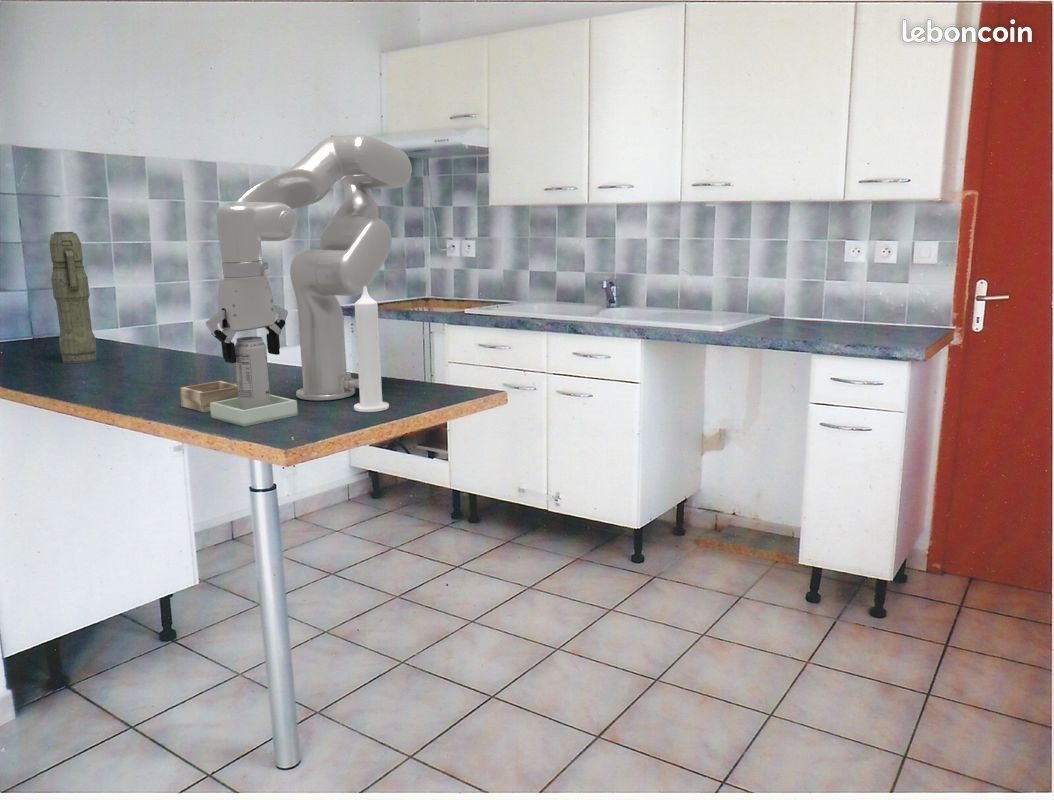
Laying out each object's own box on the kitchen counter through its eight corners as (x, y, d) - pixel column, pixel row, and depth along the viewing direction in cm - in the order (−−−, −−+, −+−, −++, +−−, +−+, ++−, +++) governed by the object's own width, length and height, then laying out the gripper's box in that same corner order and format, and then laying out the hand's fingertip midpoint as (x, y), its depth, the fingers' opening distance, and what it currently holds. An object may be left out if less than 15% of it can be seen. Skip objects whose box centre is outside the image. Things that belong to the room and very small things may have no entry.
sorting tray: (297, 415, 175) (296, 400, 174) (243, 426, 166) (242, 411, 165) (264, 406, 182) (263, 392, 182) (211, 417, 174) (209, 402, 173)
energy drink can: (276, 413, 174) (270, 338, 171) (246, 418, 170) (239, 341, 167) (264, 408, 178) (258, 335, 175) (235, 412, 175) (228, 338, 172)
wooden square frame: (244, 404, 185) (242, 386, 184) (203, 412, 178) (201, 393, 177) (221, 398, 191) (219, 380, 190) (181, 406, 184) (179, 387, 183)
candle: (377, 413, 175) (371, 288, 170) (347, 410, 178) (339, 287, 172) (395, 406, 182) (389, 284, 176) (365, 403, 184) (359, 284, 179)
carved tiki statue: (69, 365, 235) (52, 232, 228) (56, 360, 244) (39, 232, 236) (104, 361, 241) (88, 231, 234) (89, 356, 250) (74, 231, 242)
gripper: (271, 265, 177) (279, 349, 181) (191, 274, 164) (202, 363, 169) (292, 267, 172) (301, 352, 176) (212, 276, 159) (222, 368, 164)
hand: (252, 358), depth 172 cm, fingers open, 9 cm apart
